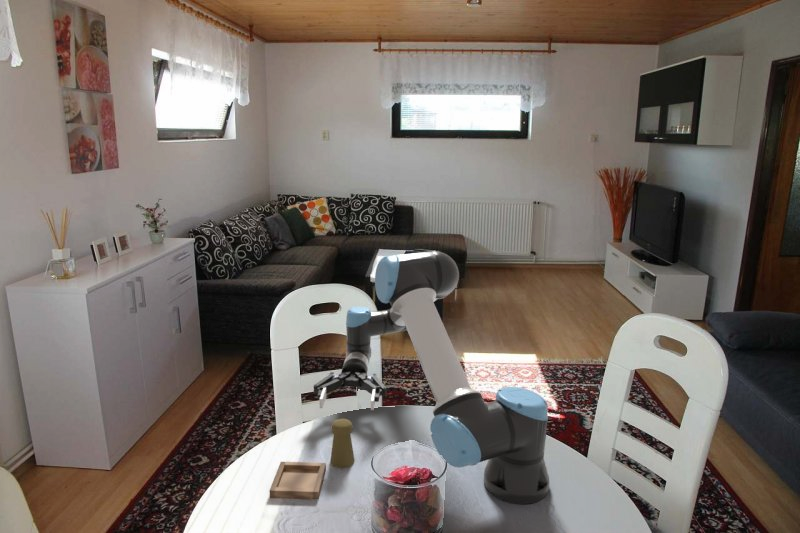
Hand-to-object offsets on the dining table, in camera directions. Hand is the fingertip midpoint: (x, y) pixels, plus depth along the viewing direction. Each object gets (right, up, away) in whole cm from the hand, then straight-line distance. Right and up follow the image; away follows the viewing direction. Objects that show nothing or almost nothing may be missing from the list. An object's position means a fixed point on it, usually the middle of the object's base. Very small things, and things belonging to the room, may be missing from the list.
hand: (346, 404), depth 150 cm
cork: (0, -12, -8) cm, 15 cm away
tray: (-9, -14, -17) cm, 24 cm away
